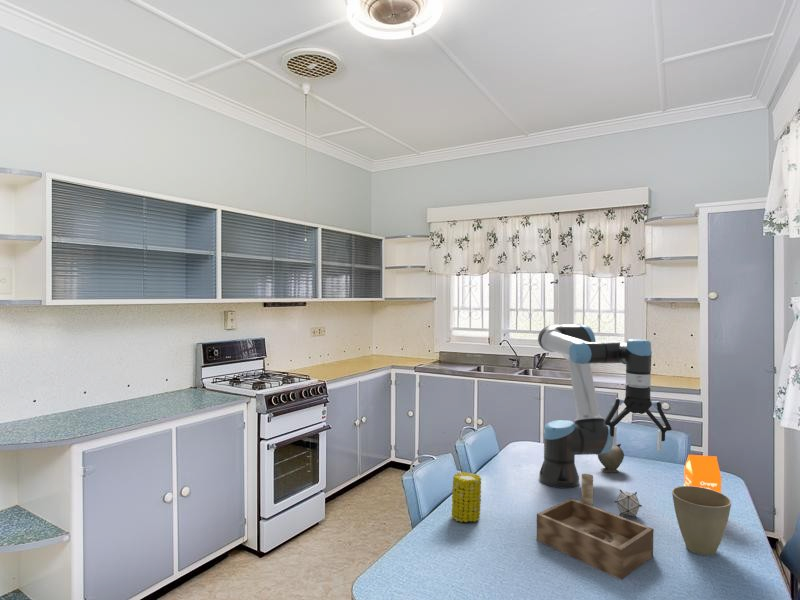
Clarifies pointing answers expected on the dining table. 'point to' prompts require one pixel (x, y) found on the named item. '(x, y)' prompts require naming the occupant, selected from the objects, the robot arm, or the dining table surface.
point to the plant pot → (701, 517)
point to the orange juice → (702, 472)
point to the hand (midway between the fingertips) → (636, 448)
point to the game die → (628, 503)
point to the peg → (587, 489)
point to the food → (466, 497)
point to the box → (596, 537)
